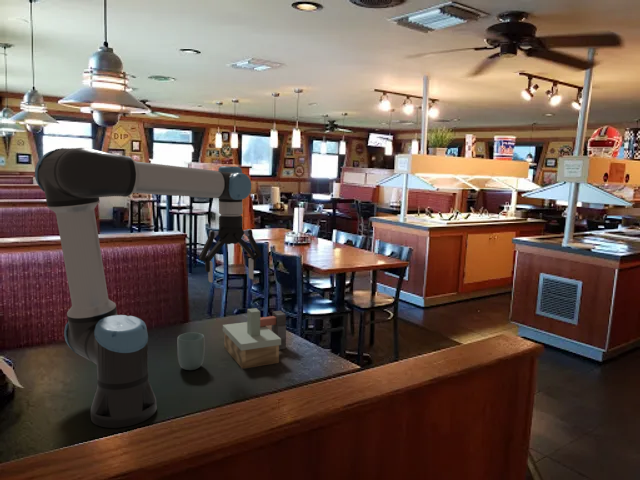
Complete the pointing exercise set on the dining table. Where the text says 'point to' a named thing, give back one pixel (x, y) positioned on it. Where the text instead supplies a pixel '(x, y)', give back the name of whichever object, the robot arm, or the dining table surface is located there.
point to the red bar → (268, 321)
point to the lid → (251, 333)
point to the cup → (190, 350)
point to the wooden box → (260, 354)
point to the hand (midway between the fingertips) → (231, 280)
